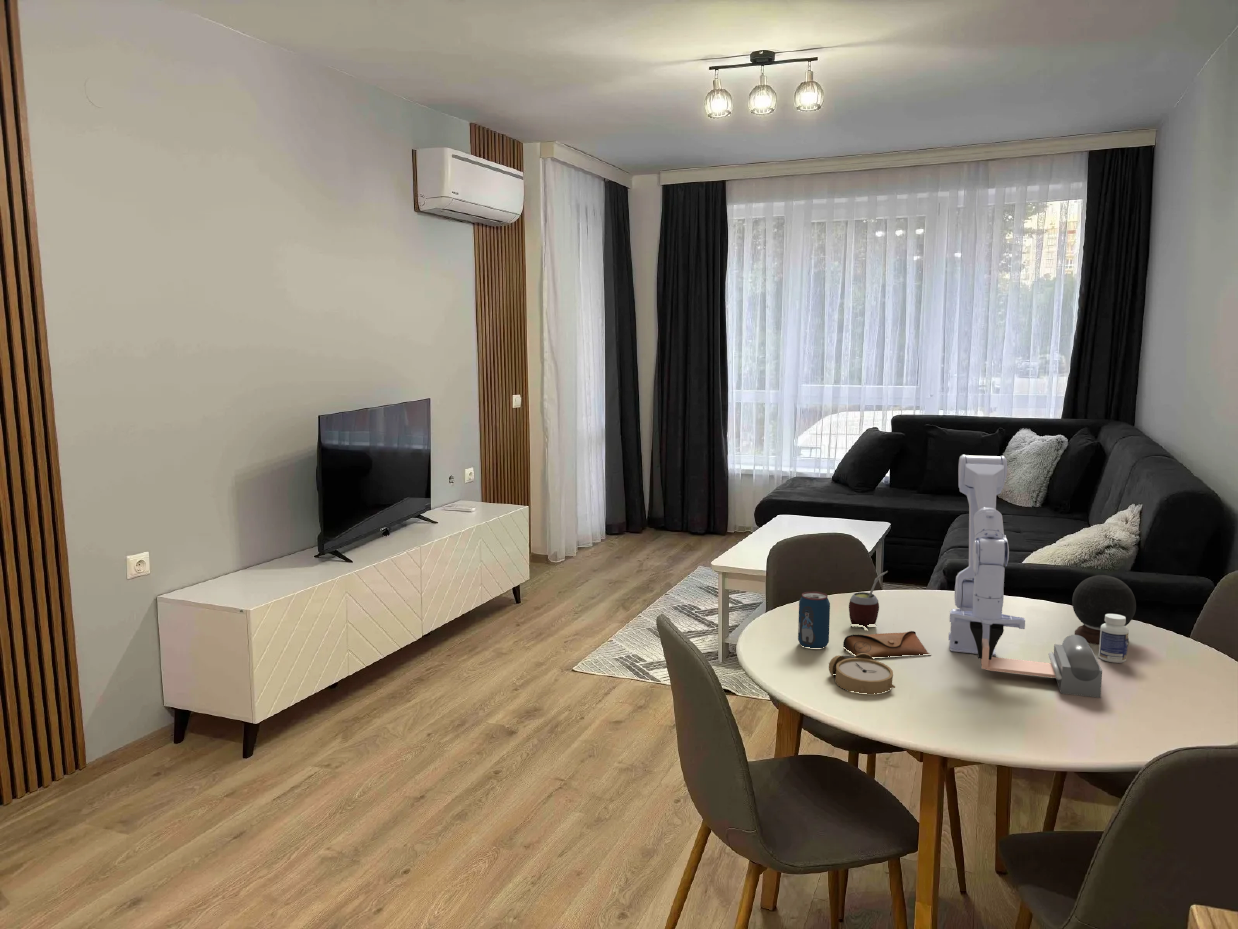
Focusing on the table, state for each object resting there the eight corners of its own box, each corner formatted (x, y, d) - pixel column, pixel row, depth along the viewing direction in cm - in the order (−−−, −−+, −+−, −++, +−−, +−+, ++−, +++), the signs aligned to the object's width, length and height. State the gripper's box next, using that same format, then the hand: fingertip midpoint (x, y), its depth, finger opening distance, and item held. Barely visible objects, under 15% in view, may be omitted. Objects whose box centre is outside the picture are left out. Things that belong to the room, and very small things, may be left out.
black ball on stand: (1146, 645, 206) (1152, 581, 204) (1098, 649, 202) (1103, 585, 200) (1103, 627, 218) (1107, 567, 216) (1057, 631, 215) (1061, 570, 213)
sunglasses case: (860, 661, 195) (853, 630, 198) (846, 667, 201) (840, 637, 204) (934, 655, 199) (927, 625, 201) (919, 661, 205) (912, 632, 208)
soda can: (826, 641, 208) (828, 591, 207) (830, 651, 202) (832, 599, 200) (796, 640, 209) (797, 590, 207) (799, 650, 202) (800, 598, 201)
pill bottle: (1130, 664, 193) (1133, 620, 192) (1102, 662, 194) (1106, 619, 193) (1121, 655, 198) (1124, 613, 197) (1095, 654, 200) (1098, 612, 198)
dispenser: (1055, 692, 178) (1057, 653, 177) (1047, 668, 191) (1049, 632, 190) (1100, 697, 175) (1103, 658, 174) (1089, 673, 188) (1092, 636, 187)
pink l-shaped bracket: (981, 669, 185) (983, 648, 185) (980, 658, 192) (981, 637, 191) (1056, 678, 181) (1058, 656, 180) (1052, 666, 187) (1054, 645, 187)
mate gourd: (845, 622, 222) (847, 563, 220) (877, 622, 222) (879, 563, 220) (852, 632, 215) (855, 571, 213) (885, 632, 215) (888, 571, 213)
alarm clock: (853, 685, 175) (819, 647, 188) (850, 707, 176) (816, 667, 190) (905, 679, 177) (867, 642, 191) (901, 701, 179) (864, 663, 193)
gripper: (951, 596, 185) (947, 660, 187) (1027, 603, 180) (1023, 668, 182) (950, 588, 192) (947, 649, 193) (1024, 594, 187) (1021, 657, 189)
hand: (984, 657), depth 188 cm, fingers closed on pink l-shaped bracket
